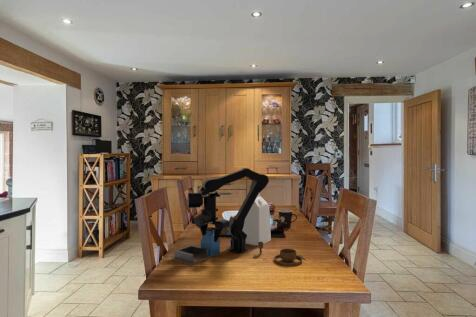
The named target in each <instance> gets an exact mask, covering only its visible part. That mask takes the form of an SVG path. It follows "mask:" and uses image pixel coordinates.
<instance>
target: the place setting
mask: <svg viewBox="0 0 476 317" xmlns="http://www.w3.org/2000/svg"><path fill="white" fill-rule="evenodd" d="M257 248H258V249H259V255H263V254H262V253H263V251H262V250H263V248H264V244H263V242H258V246H257ZM279 259H281V260H282V261H279ZM263 260H264V261H266V260H267V258H263ZM273 260H274V262H275V263H277V265H280V266H288V267H293V266H294V267H295V266H298V265H300V264H302V262H303V260H304V261H306V262H308V260H307V259H306V258H305V257H304V256H303V255H299V254H297V250H296V249H293V248H281V249H280V250H279V254H277V255H275V256H274V257H273ZM295 260H298V261H296V262H294V261H295Z"/></svg>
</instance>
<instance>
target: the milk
mask: <svg viewBox="0 0 476 317" xmlns="http://www.w3.org/2000/svg"><path fill="white" fill-rule="evenodd" d="M270 213H271V212H270V205H269V203H268V202H267V201H266V200H265V199H264V198H263V197H262V196H261V192H260V193H259V194H258V196H257V198H256V200H255V201H254V203H253V205H252V207H251V209H250V211H249V213H248V215H247V216H246V218H245V222H244V227H243V230H242V231H243V232H244V233H245V234H246V235H247V237H246V244H247V245H251V246H252V245H253V246H257V247H258V242H263V245H265V244H266V243H268V242H270V241H271V240H272V238H271V237H272V236H271V234H272V233H271V232H272V231H271V214H270Z"/></svg>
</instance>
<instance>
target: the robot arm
mask: <svg viewBox="0 0 476 317" xmlns="http://www.w3.org/2000/svg"><path fill="white" fill-rule="evenodd" d="M245 178H247V179H249V180H251V184H250V189H249V191H248V193H247V195H246V197H245V198H244V200H243V202H242V204H241V206H240V208H239V209H238V211H237V213H236V214H235V215H234V216H230V217H229V219H219V217H217V212H218V211H219V208H217V198H220V197H221V194H220V193H219V192H218V190H219V189H220V188H222V187H224V186H225V185H229V184H230V183H234V182H236V181H238V180H241V179H245ZM269 182H270V179H269V177H268V175H266V174H263V173H259V172H257V171H254V170H252V169H250V168H247V167H243V168H241V169H238V170H236V171H234V172H230V173H228V174H225V175H223V176H219V177H212V178H207V179H204V180H203V183H202V186H201V188H200V189H199V190H198V192H187V198H186V206H187V209H197V208H201V207H202V206H203V208H202V209H201V213H200V214H198V215H196V216H193V217H192V218H191V224H193V225H195V226H196V227H197V228H199V230H200V233H201V235H202V237H203V236H204V235H206V234H207V233H206V230H207V227H209V225H214V227H213V228H212V229H213V230H214V233H213V234H214V241H215V242H217V240H218V238H219V237H220V235H221V233H222V231H223V230H224V229H225V228H226V230H227V232H228V233H229V234H230V236H231V239H230V249H228V250H229V251H228V252H232V253H237V254H241V253H244V252H246V251H248V248H247V247H246V246H247V245H246V237H247V235H246V234H245V233H244V232H243V231H242V230H243V227H244V222H245V218H246V216H247V215H248V213H249V211H250V209H251V207H252V205H253V203H254V201H255V200H256V198H257V196H258V194H259V193H260V194H261V192H262V191H263V190H265V188H266V187H267V185H268V184H269ZM219 239H220V238H219Z"/></svg>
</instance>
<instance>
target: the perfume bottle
mask: <svg viewBox="0 0 476 317" xmlns="http://www.w3.org/2000/svg"><path fill="white" fill-rule="evenodd" d="M212 228H214V227H213V226H208V227H207V230H206V233H207V234H206V235H204V236H202V238H201V239H200V247H202V248H207V249H208V255H211V258H212V257H213V256H216V254H217V255H219V254H221V243H220V242H221V240H220V238H218V240H217V242H215V241H214V230H213V229H212ZM218 253H219V254H218Z"/></svg>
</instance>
